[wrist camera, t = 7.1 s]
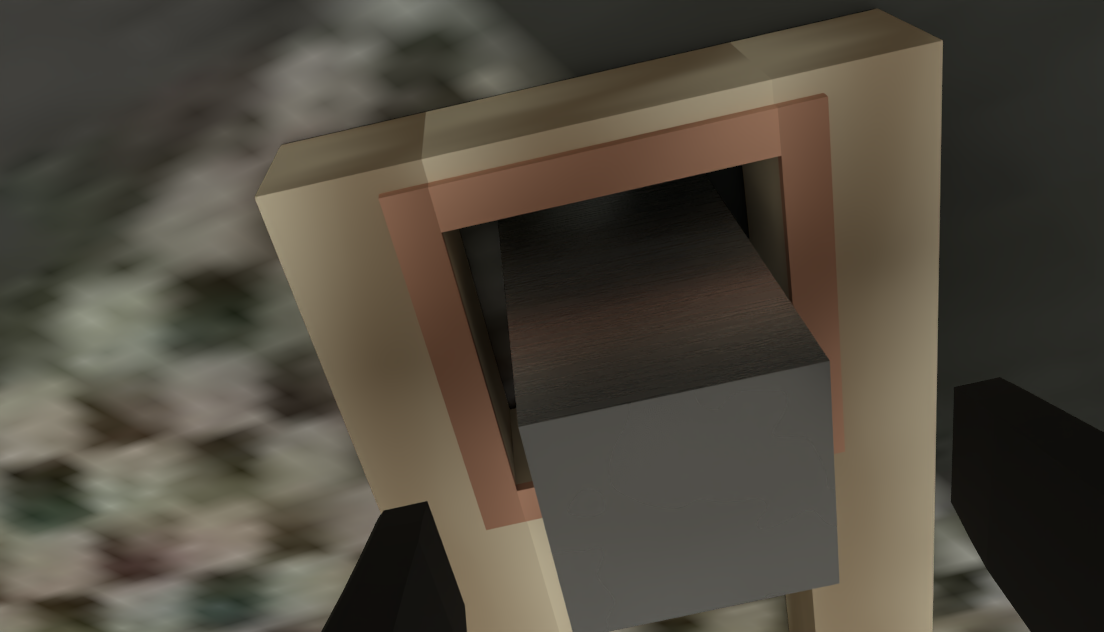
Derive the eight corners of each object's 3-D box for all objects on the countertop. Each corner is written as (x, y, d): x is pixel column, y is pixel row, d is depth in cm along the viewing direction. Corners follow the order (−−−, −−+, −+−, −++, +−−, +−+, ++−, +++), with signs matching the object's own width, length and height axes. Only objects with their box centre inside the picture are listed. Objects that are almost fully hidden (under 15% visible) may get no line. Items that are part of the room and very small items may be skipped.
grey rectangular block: (700, 166, 17) (829, 360, 11) (719, 339, 19) (839, 583, 13) (497, 210, 17) (518, 426, 11) (537, 378, 19) (574, 638, 13)
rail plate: (877, 8, 16) (948, 43, 14) (889, 663, 25) (933, 751, 23) (281, 145, 16) (252, 202, 14) (504, 746, 25) (509, 841, 23)
